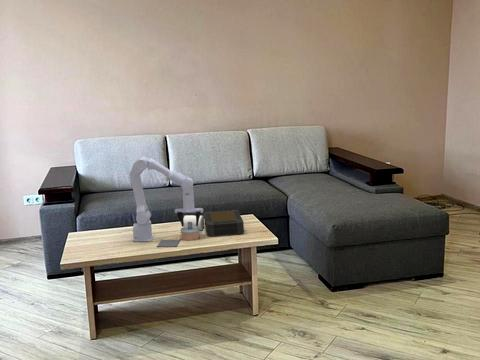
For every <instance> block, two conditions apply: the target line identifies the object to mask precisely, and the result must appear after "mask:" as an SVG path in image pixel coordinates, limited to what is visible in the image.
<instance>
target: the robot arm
mask: <svg viewBox="0 0 480 360" xmlns="http://www.w3.org/2000/svg"><path fill="white" fill-rule="evenodd" d="M146 169H147V171H149V170H154V171H157V172H159V173H161V174H163V175H165V176H167V178H168V180H169V181H171V182H172V183H173V184H175V185H177V186H181V189H182V206H183V207H182V208H181V207H180V208H175V209H174V213H175V214H176V216H177V218H178V219H179V221H180V224H181V225H180V226H181V228H183V226H184V222H183V219H184V214H190V213H191V214H192V213H195V216H196V226H198V222H199V218H200V216H202V215H201V214H204V208H202V207H195V196H194V195H195V194H194V193H195V192H194V187H193V186H194V180H193V179H192V178H191V176H188V175H184V174H183V173H180V171H179V170H175V169H173V170H171V169H169V168H167V167H166V166H165V165H162V164H161V163H160V162H158V161H157V160H155V159H153V158H151V157H148V155H142V156H140V157H139V158H137V159H136V160H135V161H134V162H133V164H132V167H131V170H130V172H129V177H130V178H129V179H130V182H131V187H132V191H133V196H134V201H135V204H136V205H135V206H136V217H135V221H136V223H135V222H134V223H133V226H132V234H133V235H132V236H133V242H137V243H138V242H152V241H153V239H154V238H155V235H153V229H152V221H151V220H150V218H151V217H152V212H151V210H150V209H149V206H148V205H147V201H146V197H145V192H144V188H143V183H142V179H141V178H142V177H141V174H142V173H143V172H144V171H145V170H146Z"/></svg>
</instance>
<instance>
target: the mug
mask: <svg viewBox="0 0 480 360" xmlns="http://www.w3.org/2000/svg"><path fill="white" fill-rule="evenodd" d="M183 222H184V226H183V227H186V226H188V222H192V226H196V215H191V214H190V215H183ZM183 227H182V228H183ZM197 227H199V228H200V231H203V229H204V227H205V220H204V215H200V218H199V222H198V226H197Z"/></svg>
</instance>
